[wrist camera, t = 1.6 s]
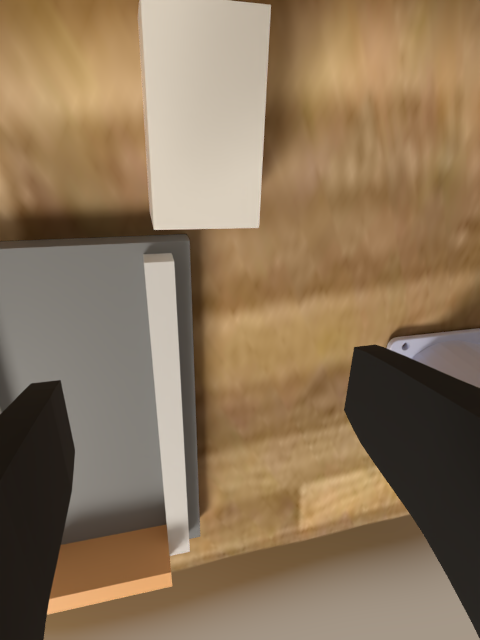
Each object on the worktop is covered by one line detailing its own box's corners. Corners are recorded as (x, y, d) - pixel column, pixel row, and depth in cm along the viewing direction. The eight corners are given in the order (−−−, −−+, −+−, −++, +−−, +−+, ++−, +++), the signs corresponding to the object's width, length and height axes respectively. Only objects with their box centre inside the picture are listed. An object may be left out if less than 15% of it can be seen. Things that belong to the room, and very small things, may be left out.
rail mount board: (186, 233, 19) (200, 261, 15) (197, 520, 27) (208, 583, 23) (-91, 244, 16) (-156, 281, 13) (14, 556, 24) (-6, 632, 21)
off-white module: (243, 27, 16) (270, 4, 13) (237, 210, 19) (258, 227, 16) (137, 17, 15) (140, -10, 12) (149, 210, 18) (153, 229, 15)
